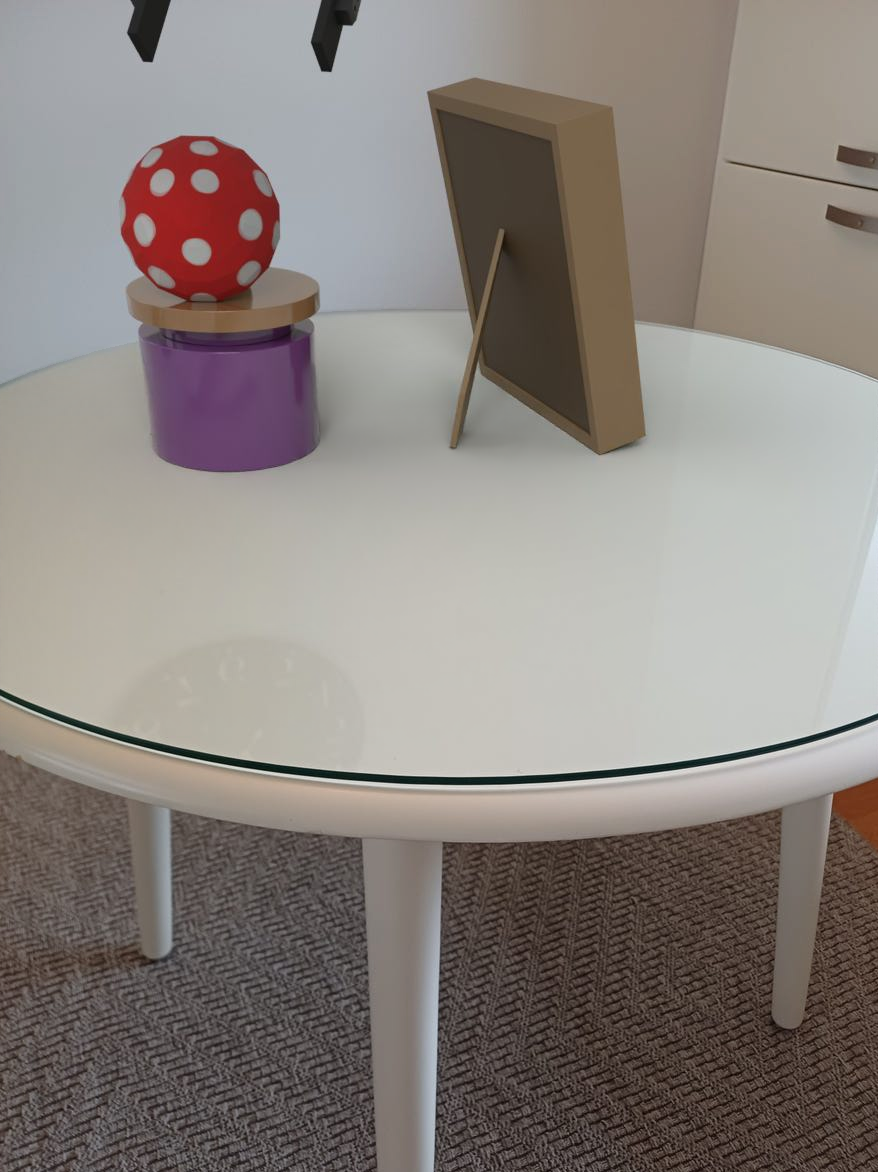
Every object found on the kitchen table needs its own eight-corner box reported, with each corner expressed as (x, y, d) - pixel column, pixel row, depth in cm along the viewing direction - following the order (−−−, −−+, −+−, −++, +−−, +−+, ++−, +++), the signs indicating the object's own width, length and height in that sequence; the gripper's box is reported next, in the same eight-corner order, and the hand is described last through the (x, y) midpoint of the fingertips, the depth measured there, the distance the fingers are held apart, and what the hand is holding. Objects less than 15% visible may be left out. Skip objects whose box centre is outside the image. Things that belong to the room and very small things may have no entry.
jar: (112, 462, 84) (88, 301, 78) (193, 403, 96) (178, 258, 90) (288, 483, 82) (278, 318, 76) (349, 420, 94) (344, 272, 88)
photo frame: (521, 369, 107) (535, 76, 94) (644, 447, 90) (682, 105, 78) (375, 386, 101) (369, 78, 89) (478, 473, 85) (489, 109, 72)
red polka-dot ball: (200, 140, 87) (160, 80, 72) (322, 226, 89) (307, 185, 74) (124, 263, 88) (70, 229, 73) (246, 346, 90) (217, 329, 75)
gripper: (465, -137, 85) (410, 100, 80) (160, -143, 89) (91, 82, 85) (449, -236, 78) (388, 18, 73) (118, -237, 82) (40, 2, 77)
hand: (229, 53), depth 79 cm, fingers open, 13 cm apart
